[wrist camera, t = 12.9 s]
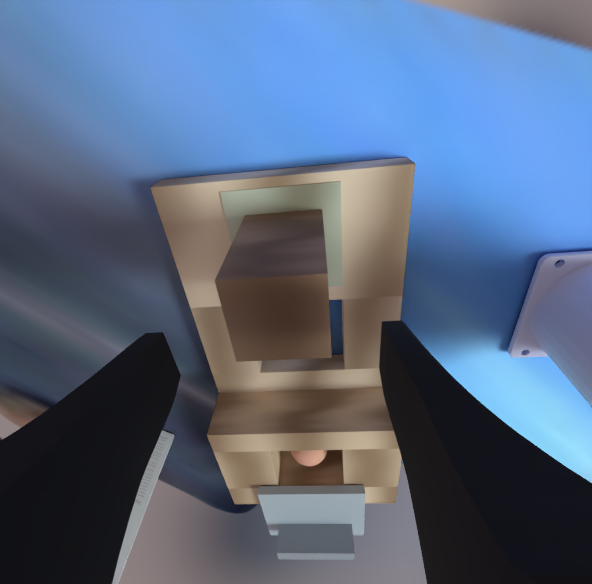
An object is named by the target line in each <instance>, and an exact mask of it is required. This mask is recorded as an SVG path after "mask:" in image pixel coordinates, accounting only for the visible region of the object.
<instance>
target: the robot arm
mask: <svg viewBox="0 0 592 584" xmlns="http://www.w3.org/2000/svg"><path fill="white" fill-rule="evenodd" d="M558 260H560V261H559V262H558V263H557V264H555V263H556V262H557V261H558ZM508 353H509V354H510V356H511V357H515V358H519V357H543V356H549V357H550V358H551V360H552V361H553V362H554V363H555V364H556V365H557V367H558V368H559V369H560V370H561V371H562V373H563V374H564V375H565V376H566V377H567V379H568V380H569V381H570V382H571V383H572V384H573V386H574V387H575V388H576V389H577V390H578V392H579V393H580V394H581V395H582V396H583V398H584V399H585V400H586V401H587V402H588V403H589V405H590V406H591V407H592V251H582V252H567V253H551V254H546V255H544V256H542V257H541V258H540V259H539V261H538V263H537V266H536V269H535V272H534V275H533V278H532V281H531V284H530V287H529V290H528V293H527V295H526V298H525V301H524V304H523V307H522V310H521V313H520V316H519V319H518V322H517V325H516V328H515V331H514V333H513V336H512V339H511V342H510V345H509V348H508ZM379 370H380V376H381V382H382V388H383V394H384V398H385V402H386V405H387V409H388V412H389V416H390V419H391V423H392V426H393V429H394V433H395V436H396V440H397V443H398V446H399V450H400V453H401V457H402V460H403V463H404V467H405V471H406V475H407V479H408V484H409V489H410V493H411V499H412V503H413V509H414V513H415V519H416V524H417V530H418V535H419V540H420V546H421V551H422V556H423V562H424V568H425V574H426V579H427V584H592V483H590V482H589V481H587V480H586V479H584V478H583V477H581V476H580V475H578V474H576V473H575V472H573V471H572V470H570V469H569V468H567V467H566V466H564V465H563V464H561V463H560V462H558V461H557V460H555V459H554V458H552V457H551V456H549V455H548V454H547V453H545V452H544V451H542V450H541V449H540V448H538V447H537V446H535V445H534V444H533V443H531V442H530V441H528V440H527V439H526V438H524V437H523V436H521V435H520V434H519V433H517V432H516V431H515V430H513V429H512V428H511V427H509V426H508V425H507V424H506V423H504V422H503V421H502V420H501V419H499V418H498V417H497V416H496V415H495V414H493V413H492V412H491V411H490V410H488V409H487V408H486V407H485V406H484V405H483V404H481V403H480V402H479V401H478V400H477V399H476V398H475V397H474V396H472V395H471V394H470V393H469V392H468V391H467V390H466V389H465V388H464V387H463V386H462V385H461V384H460V383H459V382H457V381H456V380H455V379H454V378H453V377H452V376H451V375H450V374H449V373H448V372H447V371H446V370H445V368H444V367H443V366H442V365H441V364H440V363H439V362H438V361H437V360H436V359H435V358H434V357H433V356H432V355H431V354H430V353H429V351H428V350H427V349H426V348H425V347H424V346H423V345H422V343H421V342H420V341H419V340H418V339H417V338H416V336H415V335H414V334H413V333H412V332H411V330H410V329H409V328H408V327H407V326H406V324H405V323H404V322H403V321H402V320H399V321H382V325H381V342H380V359H379ZM180 376H181V375H180V373H179V370H178V368H177V365H176V363H175V360H174V358H173V355H172V353H171V351H170V348H169V346H168V343H167V341H166V338H165V336H164V333H163V332H161V333H145V334H144V335H143V336H141V337H140V338H139V339H137V340H136V341H135V342H134V343H132V344H131V345H130V346H129V347H127V348H126V349H125V350H124V351H122V352H121V353H120V354H119V355H118V356H116V357H115V358H114V359H113V360H112V361H110V362H109V363H108V364H107V365H105V366H104V367H103V368H102V369H101V370H99V371H98V372H97V373H96V374H94V375H93V376H92V377H91V378H89V379H88V380H87V381H86V382H84V383H83V384H82V385H80V386H79V387H78V388H76V389H75V390H74V391H73V392H71V393H70V394H69V395H67V396H66V397H65V398H63V399H62V400H61V401H59V402H58V403H57V404H55V405H54V406H53V407H51V408H50V409H48V410H47V411H46V412H44V413H43V414H41V415H40V416H38V417H37V418H35V419H34V420H32V421H31V422H29V423H28V424H26V425H25V426H23V427H22V428H20V429H19V430H18V431H16V432H14V433H13V434H11V435H10V436H8V437H6V438H4V439H3V440H1V441H0V584H112V582H113V578H114V574H115V570H116V566H117V562H118V558H119V554H120V550H121V547H122V543H123V540H124V536H125V533H126V529H127V526H128V522H129V519H130V515H131V512H132V509H133V506H134V502H135V499H136V496H137V493H138V489H139V486H140V483H141V481H142V478H143V475H144V473H145V470H146V467H147V465H148V463H149V460H150V458H151V455H152V453H153V451H154V448H155V446H156V444H157V441H158V439H159V436H160V434H161V432H162V429H163V427H164V425H165V422H166V420H167V417H168V415H169V412H170V410H171V407H172V405H173V402H174V399H175V395H176V392H177V388H178V384H179V380H180Z"/></svg>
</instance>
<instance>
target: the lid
mask: <svg viewBox="0 0 592 584" xmlns="http://www.w3.org/2000/svg"><path fill="white" fill-rule="evenodd" d="M258 497H259V500H260V504H261V507H262V510H263V513H264V516H265V519H266V522H267V526H268V529H269V532H270V535H278V544H277V555H278V558H279V559H318V560H320V559H321V560H322V559H323V560H354V543H353V535H364V516H365V514H364V513H365V488H364V485H337V486H259V488H258Z"/></svg>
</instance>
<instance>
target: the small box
mask: <svg viewBox="0 0 592 584" xmlns="http://www.w3.org/2000/svg"><path fill="white" fill-rule="evenodd" d="M173 439H174V435H173V434H171V433H168V432H166V431H163V430H162V432H161V434H160V436H159V439H158V441H157V444H156V446H155V448H154V451H153V453H152V455H151V458H150V460H149V463H148V465H147V467H146V470H145V473H144V475H143V478H142V481H141V483H140V486H139V489H138V493H137V496H136V499H135V502H134V506H133V509H132V512H131V515H130V519H129V522H128V526H127V529H126V533H125V536H124V540H123V543H122V547H121V550H120V554H119V558H118V562H117V566H116V570H115V574H114V578H113V582H112V584H118V582H119V580H120V577H121V574H122V572H123V569H124V567H125V563H126V561H127V559H128V556H129V554H130V551H131V548H132V546H133V543H134V540H135V538H136V535H137V532H138V529H139V527H140V525H141V522H142V519H143V516H144V513H145V511H146V508H147V506H148V503H149V500H150V498H151V495H152V492H153V490H154V487H155V484H156V482H157V479H158V477H159V474H160V472H161V469H162V467H163V464H164V462H165V459H166V456H167V454H168V451H169V449H170V446H171V444H172V441H173Z"/></svg>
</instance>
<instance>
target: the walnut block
mask: <svg viewBox="0 0 592 584" xmlns="http://www.w3.org/2000/svg"><path fill="white" fill-rule="evenodd" d="M215 284H216V288H217V292H218V295H219V299H220V303H221V307H222V310H223V314H224V318H225V321H226V325H227V329H228V333H229V336H230V340H231V344H232V348H233V351H234V355H235V359H236V362H243V361H266V360H290V359H314V358H332V350H331V330H330V310H329V290H328V271H327V259H326V248H325V236H324V224H323V212H322V209H318V210H305V211H293V212H280V213H268V214H255V215H245V216H244V218H243V221H242V223H241V225H240V227H239V229H238V231H237V233H236V236H235V238H234V240H233V242H232V244H231V246H230V249H229V251H228V253H227V255H226V257H225V259H224V261H223V264H222V266H221V268H220V270H219V272H218V274H217V276H216V279H215Z"/></svg>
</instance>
